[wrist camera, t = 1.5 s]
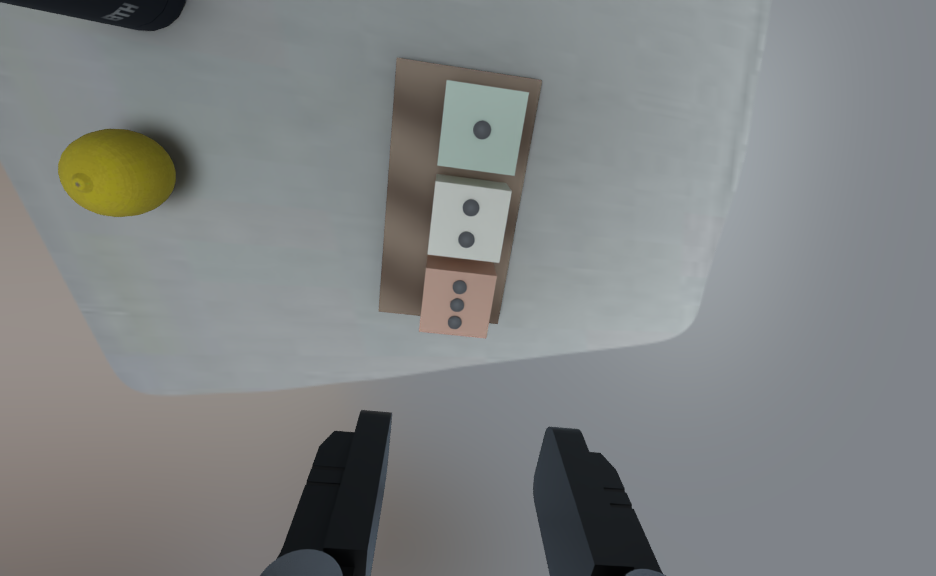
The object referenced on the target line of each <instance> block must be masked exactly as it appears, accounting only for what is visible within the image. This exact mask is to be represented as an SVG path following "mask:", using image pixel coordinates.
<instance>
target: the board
mask: <svg viewBox="0 0 936 576" xmlns="http://www.w3.org/2000/svg"><path fill="white" fill-rule="evenodd" d="M447 80H450V81H457V82H463V83H470V84H477V85H483V86H490V87H496V88H503V89H509V90H516V91H522V92H529V95H528V101H527V107H526V113H525V118H524V124H523V130H522V136H521V141H520V147H519V153H518V159H517V164H516V170H515V176H512V175H504V174H497V173H489V172H482V171H475V170H467V169H460V168H452V167H445V166H438V165H437V163H438V154H439V145H440V136H441V127H442V118H443V109H444V100H445V91H446V82H447ZM541 84H542V80H537V79H531V78H524V77H518V76H512V75H505V74H499V73H492V72H486V71H479V70H473V69H467V68H460V67H454V66H447V65H441V64H434V63H428V62H422V61H415V60H409V59H402V58H397V61H396V75H395V89H394V103H393V117H392V131H391V145H390V159H389V173H388V187H387V201H386V215H385V229H384V243H383V257H382V271H381V285H380V299H379V312H389V313H398V314H408V315H417V316H421V309H422V299H423V290H424V281H425V272H426V264H427V256H428V245H429V236H430V227H431V218H432V209H433V200H434V191H435V182H436V174H442V175H450V176H457V177H465V178H472V179H480V180H487V181H495V182H502V183H507V185H508V186H509V188H510V189H511V191H512V193H511V199H510V205H509V210H508V216H507V222H506V227H505V233H504V239H503V245H502V250H501V256H500V262H499V263H496V262H493V263H494V267H495V271H496V274H497V279H496V285H495V291H494V296H493V302H492V308H491V314H490V319H489V323H493V324H498V319H499V314H500V309H501V303H502V298H503V292H504V287H505V281H506V276H507V270H508V265H509V259H510V254H511V248H512V243H513V237H514V232H515V226H516V221H517V215H518V210H519V204H520V199H521V193H522V188H523V183H524V177H525V172H526V166H527V161H528V155H529V150H530V144H531V139H532V133H533V128H534V122H535V117H536V111H537V106H538V100H539V95H540V89H541Z"/></svg>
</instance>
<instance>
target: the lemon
mask: <svg viewBox="0 0 936 576" xmlns="http://www.w3.org/2000/svg"><path fill="white" fill-rule="evenodd" d="M58 174H59V178H60V182H61V184H62V186H63V188H64V190H65V191H66V192H67V193H68V195H69V196H70V197H71V198H72V199H73V200H74V201H75V202H76V203H77V204H79V205H80V206H82V207H84V208H85V209H87V210H89V211H92V212H95V213H97V214H100V215H106V216H113V217H125V216H135V215H140V214H143V213H146V212H148V211H151V210H153V209H155V208H157V207H158V206H160V205H161V204H162V203H163V202H165V201H166V200H167V199H168V197H169V196H170V194H171V193H172V191H173V189H174V185H175V182H176V171H175V168H174V164H173V162H172V160H171V158H170V156H169V155H168V153H167V152H166V151H165V150H164V148H163V147H162V146H160V145H159V144H158V143H157V142H155V141H154V140H153V139H151V138H149V137H147V136H145V135H143V134H140V133H137V132H133V131H130V130H125V129H104V130H99V131H95V132H91V133H88V134H86V135H83V136H82V137H80V138H78V139H77V140H75V141H73V142H72V143H71V144H69V146H68V147H67V148H66V149H65V150H64V152H63V153H62V155H61V158H60V161H59V164H58Z"/></svg>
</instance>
